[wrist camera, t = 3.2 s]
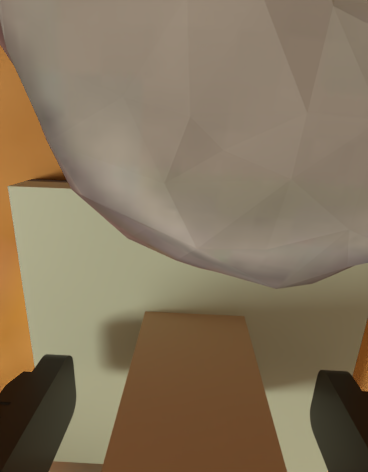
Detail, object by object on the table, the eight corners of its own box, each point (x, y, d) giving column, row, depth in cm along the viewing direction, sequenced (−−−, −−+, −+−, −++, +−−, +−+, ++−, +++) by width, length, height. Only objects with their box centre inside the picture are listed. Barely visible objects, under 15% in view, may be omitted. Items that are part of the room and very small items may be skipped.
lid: (26, 180, 10) (-343, 285, 3) (377, 194, 9) (810, 340, 3) (59, 437, 13) (-78, 746, 7) (316, 451, 13) (444, 784, 6)
